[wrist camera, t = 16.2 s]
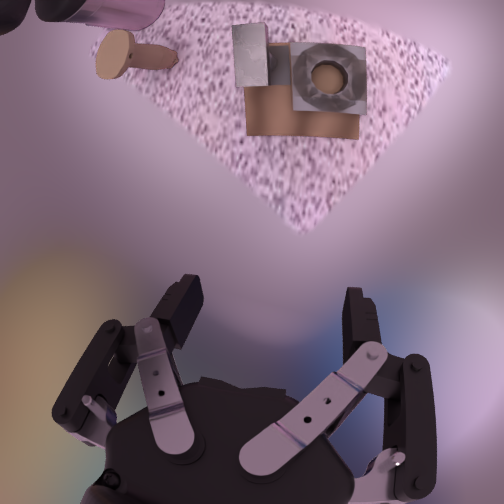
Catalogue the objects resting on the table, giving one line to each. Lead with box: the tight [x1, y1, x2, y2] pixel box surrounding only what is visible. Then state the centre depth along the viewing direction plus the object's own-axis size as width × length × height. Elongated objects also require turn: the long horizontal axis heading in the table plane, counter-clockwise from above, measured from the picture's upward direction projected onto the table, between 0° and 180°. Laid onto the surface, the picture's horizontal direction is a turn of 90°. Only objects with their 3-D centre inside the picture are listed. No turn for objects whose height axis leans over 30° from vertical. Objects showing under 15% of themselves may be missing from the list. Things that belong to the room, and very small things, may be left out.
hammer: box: [232, 23, 277, 87], centre depth 26 cm, size 7×3×11 cm, turn 3°
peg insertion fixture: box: [244, 42, 367, 140], centre depth 30 cm, size 16×14×7 cm
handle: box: [96, 29, 178, 79], centre depth 27 cm, size 5×6×15 cm
